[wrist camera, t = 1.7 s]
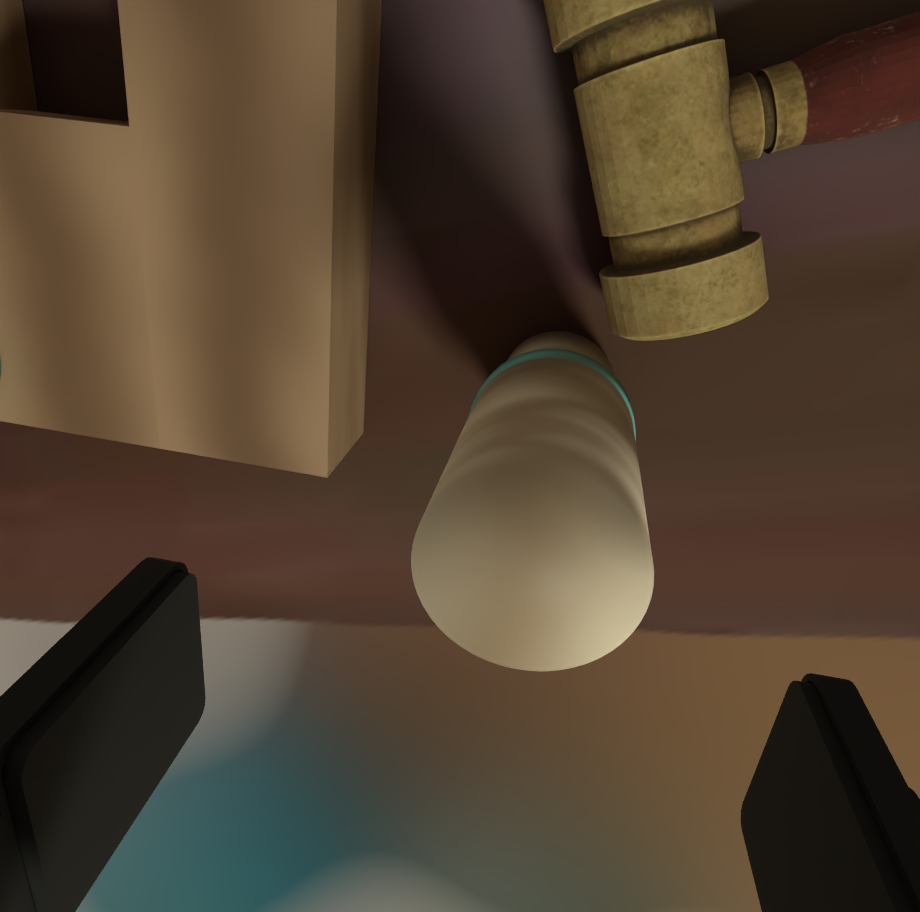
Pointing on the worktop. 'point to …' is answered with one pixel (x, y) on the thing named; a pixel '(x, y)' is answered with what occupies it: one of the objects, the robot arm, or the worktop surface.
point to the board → (197, 234)
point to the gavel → (706, 145)
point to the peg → (540, 515)
